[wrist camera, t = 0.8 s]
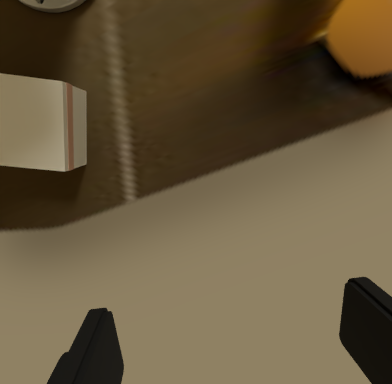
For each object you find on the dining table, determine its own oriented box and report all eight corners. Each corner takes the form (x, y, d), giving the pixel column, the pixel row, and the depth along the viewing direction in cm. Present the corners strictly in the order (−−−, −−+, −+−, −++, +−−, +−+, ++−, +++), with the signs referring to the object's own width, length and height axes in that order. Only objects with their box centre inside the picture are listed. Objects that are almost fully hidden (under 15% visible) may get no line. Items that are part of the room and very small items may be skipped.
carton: (8, 81, 27) (-38, 67, 22) (87, 91, 28) (62, 80, 22) (15, 157, 30) (-26, 163, 24) (87, 164, 30) (65, 172, 25)
